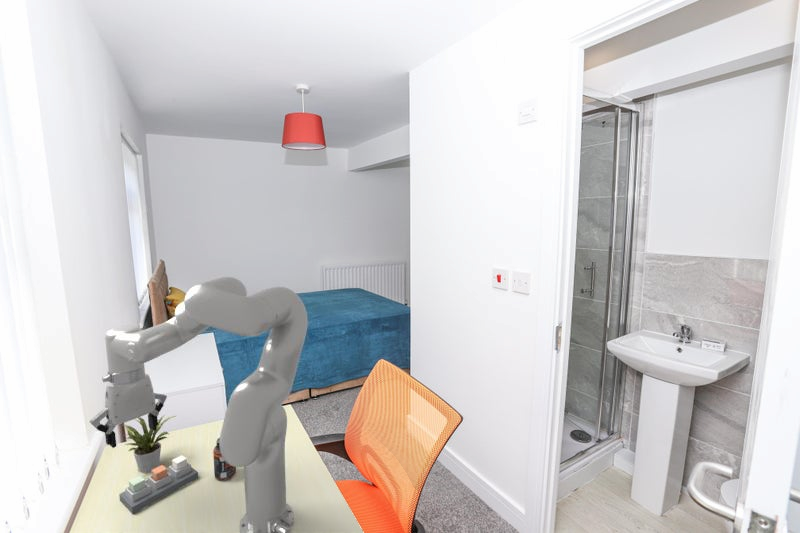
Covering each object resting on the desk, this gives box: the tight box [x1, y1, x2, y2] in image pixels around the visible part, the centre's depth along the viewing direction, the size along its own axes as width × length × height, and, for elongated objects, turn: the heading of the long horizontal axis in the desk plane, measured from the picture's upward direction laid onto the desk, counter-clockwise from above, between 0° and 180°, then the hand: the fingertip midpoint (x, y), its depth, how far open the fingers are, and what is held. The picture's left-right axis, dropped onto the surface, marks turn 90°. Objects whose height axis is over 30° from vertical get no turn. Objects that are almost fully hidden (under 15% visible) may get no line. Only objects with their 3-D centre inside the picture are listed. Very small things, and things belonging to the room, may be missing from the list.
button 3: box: [171, 454, 188, 471], centre depth 114 cm, size 3×3×2 cm
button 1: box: [128, 475, 146, 493], centre depth 106 cm, size 3×3×2 cm
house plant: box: [120, 409, 176, 474], centre depth 120 cm, size 14×14×16 cm
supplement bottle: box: [212, 437, 237, 481], centre depth 116 cm, size 6×6×11 cm
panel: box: [118, 461, 199, 515], centre depth 110 cm, size 8×17×4 cm, turn 145°
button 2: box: [150, 464, 168, 482], centre depth 110 cm, size 3×3×2 cm
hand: (133, 436), depth 104 cm, fingers open, 9 cm apart
